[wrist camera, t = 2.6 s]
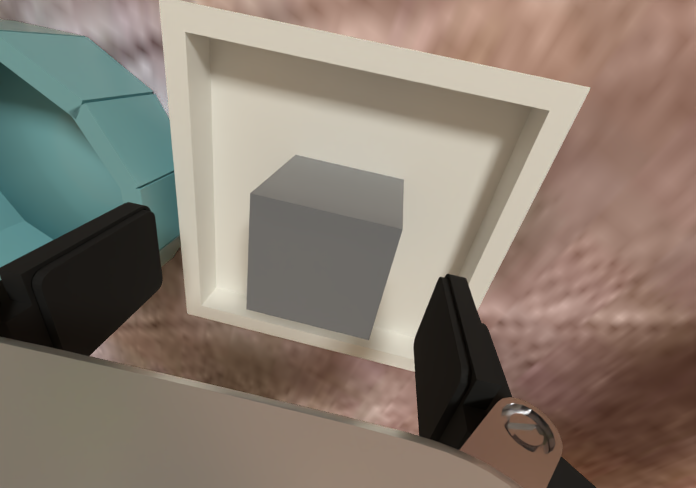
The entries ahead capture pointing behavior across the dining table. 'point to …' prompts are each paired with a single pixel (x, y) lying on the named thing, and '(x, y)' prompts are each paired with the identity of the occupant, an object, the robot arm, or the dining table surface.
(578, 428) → the dining table surface
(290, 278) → the slate block
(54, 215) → the bowl
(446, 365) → the robot arm
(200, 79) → the parts tray
